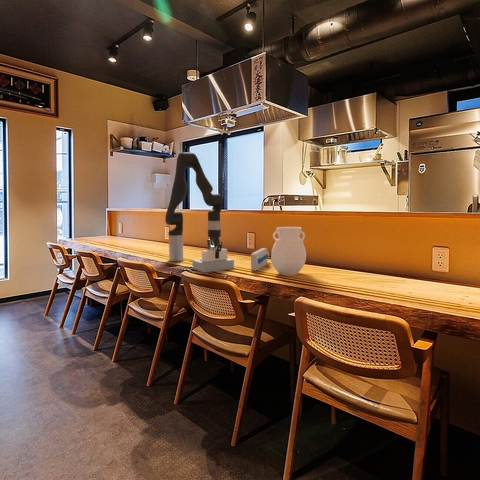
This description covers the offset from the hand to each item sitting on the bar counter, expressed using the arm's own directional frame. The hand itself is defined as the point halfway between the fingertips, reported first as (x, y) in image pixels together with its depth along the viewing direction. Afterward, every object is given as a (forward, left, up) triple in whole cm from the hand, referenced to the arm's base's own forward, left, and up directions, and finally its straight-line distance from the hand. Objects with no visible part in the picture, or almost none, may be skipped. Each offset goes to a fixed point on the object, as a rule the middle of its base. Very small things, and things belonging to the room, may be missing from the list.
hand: (214, 257), depth 200 cm
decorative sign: (+10, +27, -7) cm, 29 cm away
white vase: (+35, +25, -7) cm, 44 cm away
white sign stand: (0, 0, -5) cm, 5 cm away
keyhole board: (-2, 0, -7) cm, 7 cm away
